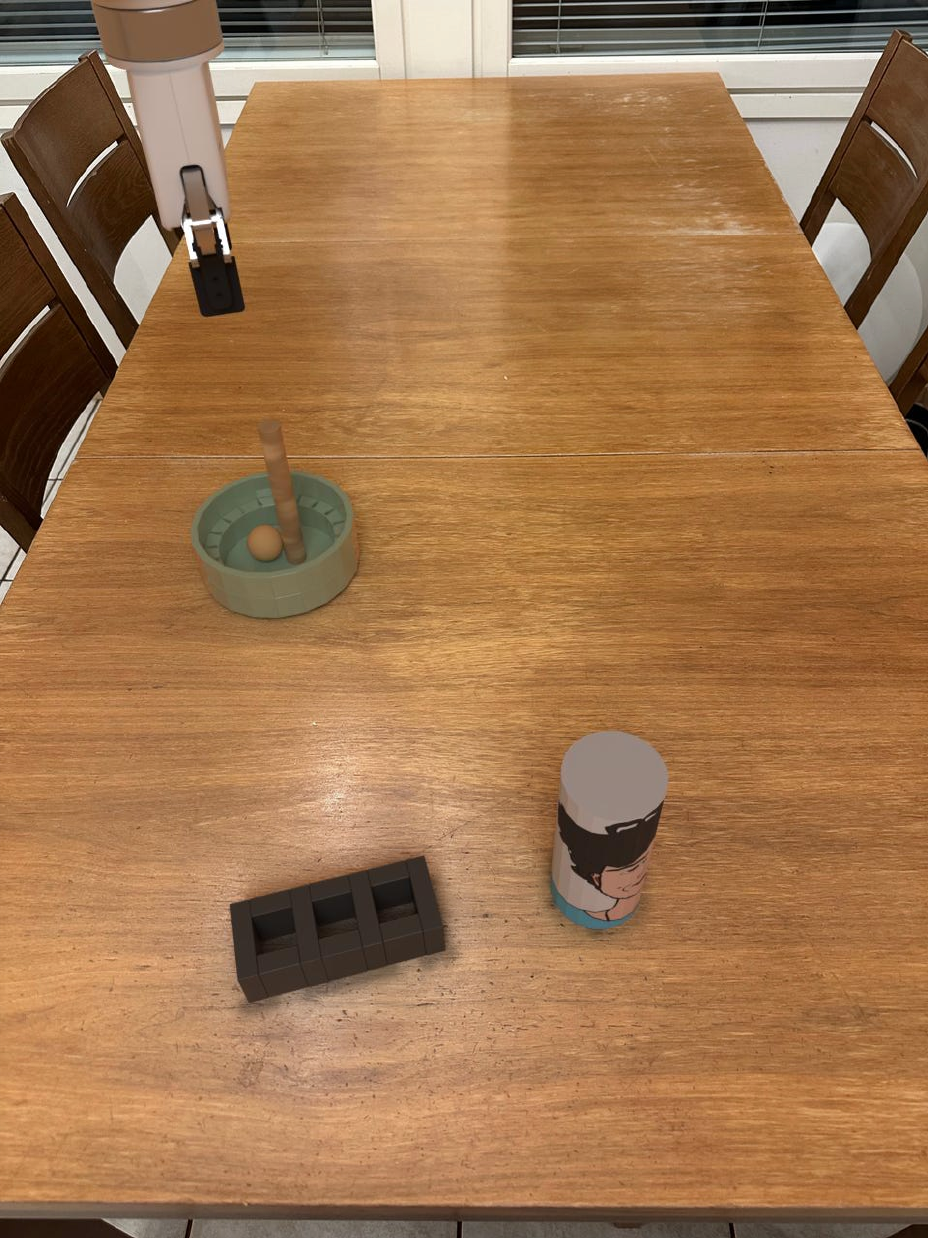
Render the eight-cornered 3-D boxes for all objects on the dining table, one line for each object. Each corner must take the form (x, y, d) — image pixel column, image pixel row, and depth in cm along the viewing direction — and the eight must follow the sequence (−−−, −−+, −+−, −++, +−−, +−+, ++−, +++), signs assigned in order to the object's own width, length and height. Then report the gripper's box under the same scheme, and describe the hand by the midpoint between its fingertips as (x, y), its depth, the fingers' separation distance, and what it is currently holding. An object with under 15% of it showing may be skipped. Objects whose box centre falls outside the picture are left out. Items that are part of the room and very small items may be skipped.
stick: (285, 565, 94) (255, 432, 82) (287, 551, 95) (258, 418, 83) (305, 564, 94) (278, 431, 82) (307, 550, 95) (281, 418, 83)
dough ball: (233, 545, 93) (252, 529, 91) (253, 529, 95) (273, 512, 93) (258, 573, 93) (277, 557, 91) (277, 556, 96) (297, 540, 94)
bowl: (211, 636, 88) (196, 591, 84) (199, 530, 98) (185, 485, 94) (373, 603, 91) (366, 558, 86) (345, 503, 101) (338, 458, 96)
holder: (248, 1003, 65) (237, 980, 62) (240, 929, 69) (229, 903, 66) (445, 951, 67) (443, 926, 64) (427, 881, 71) (424, 854, 68)
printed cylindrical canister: (600, 948, 67) (621, 841, 56) (531, 886, 71) (538, 774, 60) (659, 886, 70) (690, 774, 59) (590, 829, 74) (607, 713, 63)
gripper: (98, -5, 65) (162, 238, 77) (99, 78, 53) (174, 347, 66) (208, -16, 66) (254, 225, 79) (232, 63, 55) (281, 330, 67)
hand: (217, 281), depth 72 cm, fingers open, 9 cm apart
